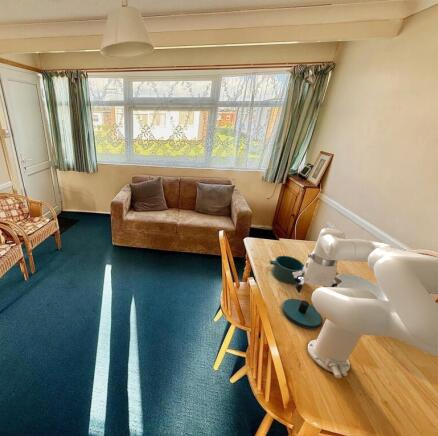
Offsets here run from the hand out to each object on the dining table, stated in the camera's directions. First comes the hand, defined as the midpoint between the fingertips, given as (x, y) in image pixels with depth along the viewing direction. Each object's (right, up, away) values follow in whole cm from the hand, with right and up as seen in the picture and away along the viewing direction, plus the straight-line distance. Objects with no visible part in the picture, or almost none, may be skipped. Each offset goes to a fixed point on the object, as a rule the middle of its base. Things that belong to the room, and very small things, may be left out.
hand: (310, 292), depth 96 cm
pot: (+8, 0, +30) cm, 32 cm away
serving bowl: (+32, -8, +15) cm, 37 cm away
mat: (0, -12, +6) cm, 14 cm away
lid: (0, -11, +6) cm, 12 cm away
